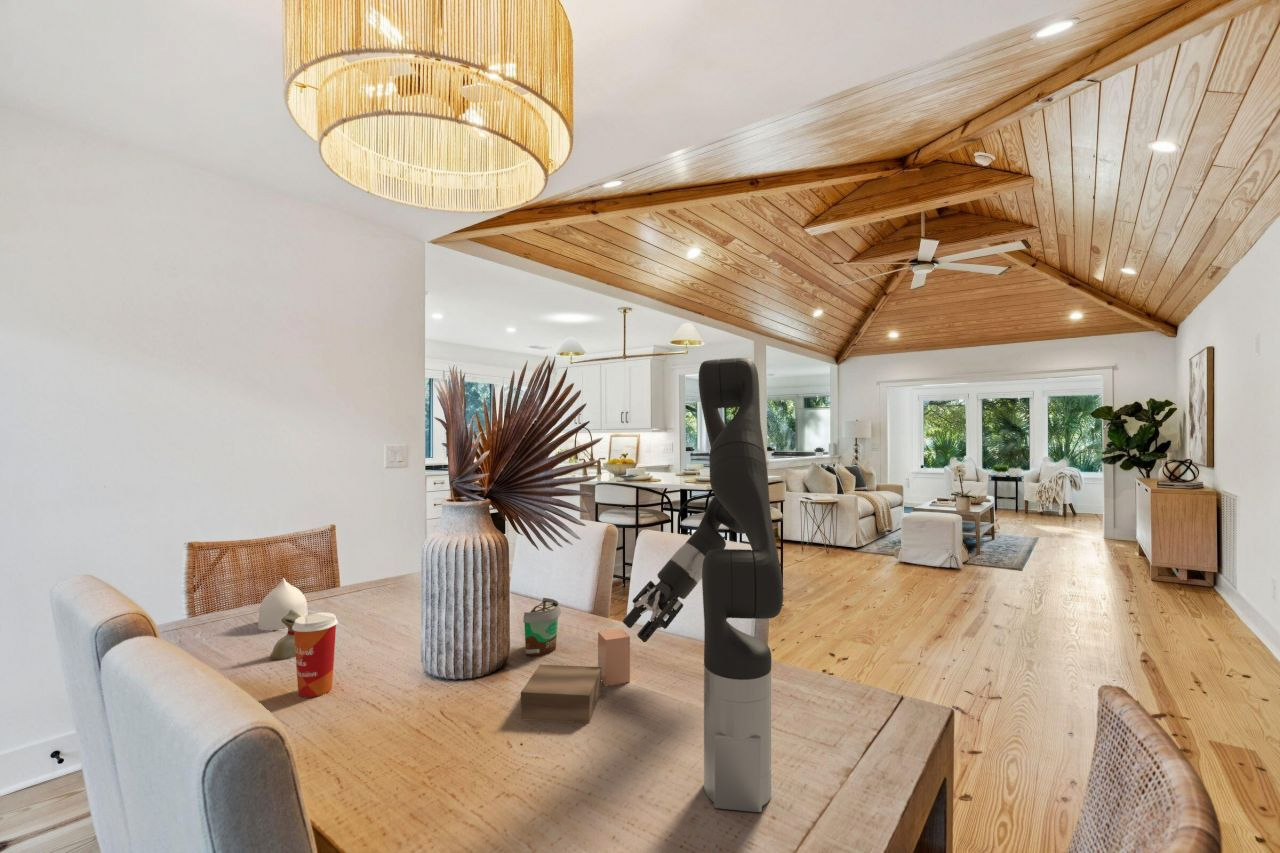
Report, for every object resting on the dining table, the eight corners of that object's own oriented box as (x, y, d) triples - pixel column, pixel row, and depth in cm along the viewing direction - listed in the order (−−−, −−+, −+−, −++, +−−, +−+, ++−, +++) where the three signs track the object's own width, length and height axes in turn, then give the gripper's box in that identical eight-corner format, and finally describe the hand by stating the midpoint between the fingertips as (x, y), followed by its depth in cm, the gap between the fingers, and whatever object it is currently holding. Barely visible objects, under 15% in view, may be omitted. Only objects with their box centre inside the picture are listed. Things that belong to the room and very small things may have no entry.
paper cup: (286, 691, 113) (286, 618, 113) (329, 679, 119) (329, 609, 119) (300, 705, 108) (300, 627, 108) (344, 691, 113) (344, 617, 113)
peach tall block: (629, 682, 117) (629, 636, 117) (605, 686, 115) (605, 639, 115) (621, 672, 122) (621, 628, 122) (598, 676, 120) (598, 631, 120)
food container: (550, 661, 128) (550, 614, 128) (523, 659, 129) (523, 613, 129) (568, 641, 140) (568, 598, 140) (543, 639, 141) (543, 596, 141)
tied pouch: (310, 656, 131) (310, 610, 131) (268, 661, 128) (268, 614, 128) (313, 647, 136) (313, 603, 136) (273, 652, 133) (273, 607, 133)
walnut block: (589, 724, 101) (589, 695, 101) (520, 721, 102) (520, 692, 103) (601, 693, 113) (601, 667, 113) (539, 690, 114) (539, 664, 114)
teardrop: (292, 631, 147) (292, 582, 147) (247, 631, 147) (247, 582, 147) (316, 617, 158) (316, 571, 158) (275, 616, 158) (275, 571, 158)
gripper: (659, 551, 130) (609, 610, 126) (687, 566, 117) (632, 632, 113) (681, 573, 132) (633, 632, 128) (711, 590, 119) (658, 656, 114)
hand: (633, 632), depth 120 cm, fingers open, 8 cm apart
